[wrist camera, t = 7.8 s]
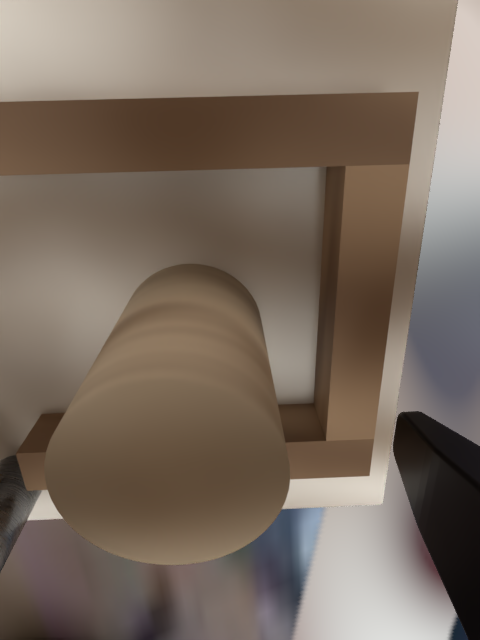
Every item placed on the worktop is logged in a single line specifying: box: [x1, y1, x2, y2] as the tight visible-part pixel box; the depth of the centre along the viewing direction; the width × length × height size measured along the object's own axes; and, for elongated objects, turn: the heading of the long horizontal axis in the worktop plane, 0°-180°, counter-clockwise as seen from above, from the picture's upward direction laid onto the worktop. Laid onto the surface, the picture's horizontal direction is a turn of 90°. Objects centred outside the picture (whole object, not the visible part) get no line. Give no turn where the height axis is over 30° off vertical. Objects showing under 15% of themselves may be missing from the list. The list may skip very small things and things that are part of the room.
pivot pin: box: [44, 264, 290, 565], centre depth 11 cm, size 4×4×6 cm
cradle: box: [0, 0, 458, 520], centre depth 12 cm, size 22×17×3 cm
